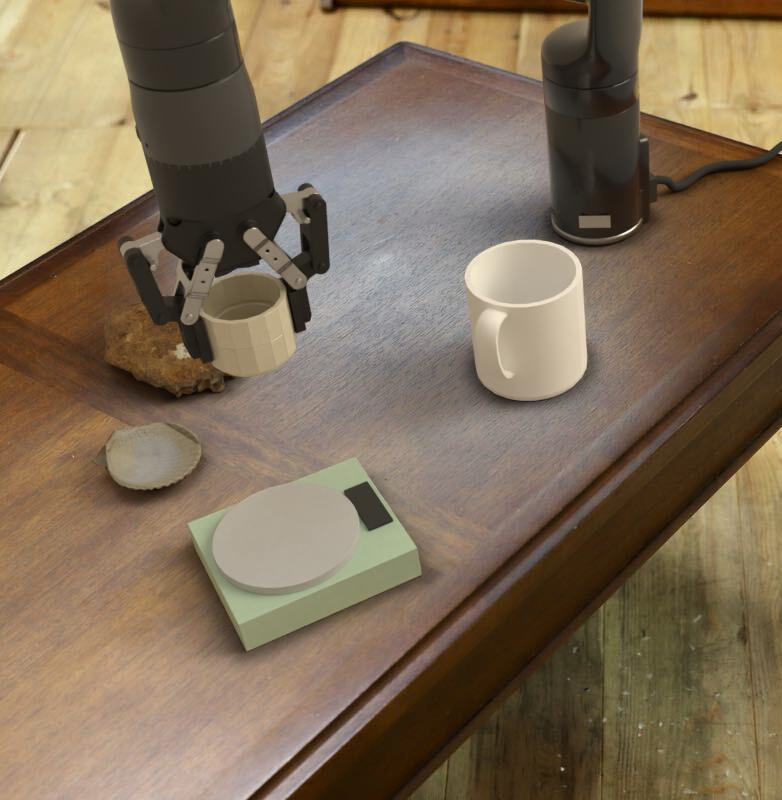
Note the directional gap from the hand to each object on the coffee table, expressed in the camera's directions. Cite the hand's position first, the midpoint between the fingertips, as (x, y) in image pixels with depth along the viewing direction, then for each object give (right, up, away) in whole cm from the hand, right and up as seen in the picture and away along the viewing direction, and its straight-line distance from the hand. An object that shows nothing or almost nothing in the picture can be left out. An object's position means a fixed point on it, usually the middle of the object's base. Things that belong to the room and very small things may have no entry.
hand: (251, 341), depth 98 cm
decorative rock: (-14, 0, +29) cm, 32 cm away
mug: (+18, -2, +25) cm, 31 cm away
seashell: (-12, -10, +17) cm, 24 cm away
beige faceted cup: (0, -1, +1) cm, 1 cm away
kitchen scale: (+2, -17, +8) cm, 19 cm away
